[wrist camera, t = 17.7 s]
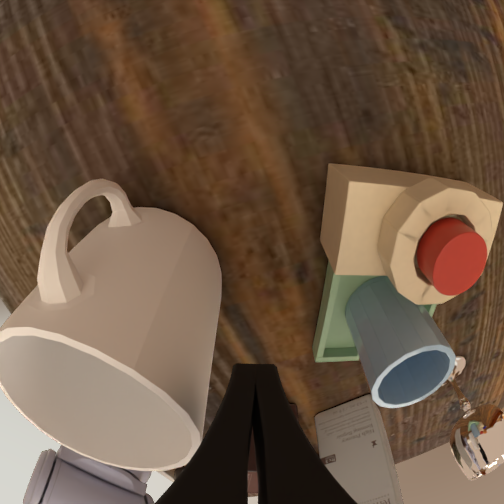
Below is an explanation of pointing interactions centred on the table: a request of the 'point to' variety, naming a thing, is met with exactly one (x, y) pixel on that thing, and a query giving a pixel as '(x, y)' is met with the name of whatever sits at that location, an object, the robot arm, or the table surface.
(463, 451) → the wineglass
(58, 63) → the table surface
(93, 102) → the table surface
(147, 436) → the mug
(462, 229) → the button
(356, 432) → the cosmetic box
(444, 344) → the cup
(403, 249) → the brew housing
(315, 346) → the tray
